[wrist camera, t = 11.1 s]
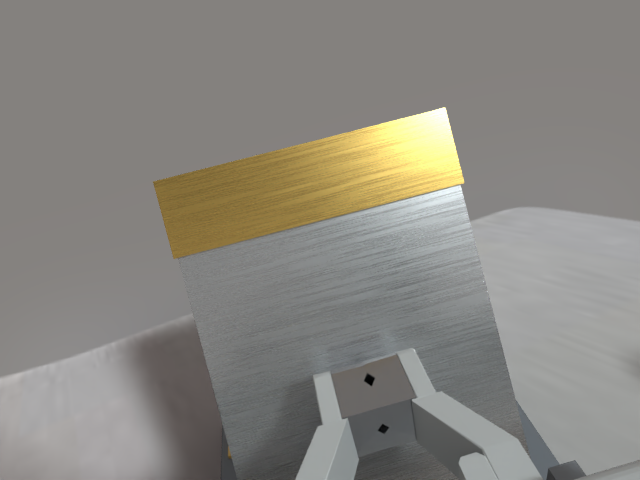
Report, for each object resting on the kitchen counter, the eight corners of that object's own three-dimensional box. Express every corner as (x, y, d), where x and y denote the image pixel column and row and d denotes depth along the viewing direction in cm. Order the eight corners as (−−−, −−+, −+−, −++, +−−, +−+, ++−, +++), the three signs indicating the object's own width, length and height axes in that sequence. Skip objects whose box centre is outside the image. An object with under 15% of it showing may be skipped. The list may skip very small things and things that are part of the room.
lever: (580, 585, 13) (457, 104, 13) (272, 679, 13) (140, 185, 13) (535, 528, 16) (431, 126, 16) (277, 605, 16) (167, 194, 15)
